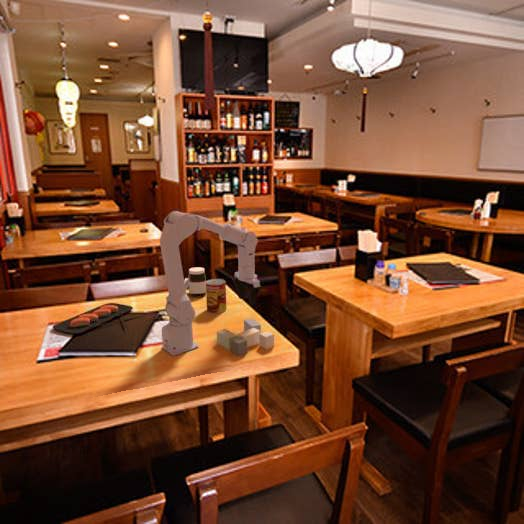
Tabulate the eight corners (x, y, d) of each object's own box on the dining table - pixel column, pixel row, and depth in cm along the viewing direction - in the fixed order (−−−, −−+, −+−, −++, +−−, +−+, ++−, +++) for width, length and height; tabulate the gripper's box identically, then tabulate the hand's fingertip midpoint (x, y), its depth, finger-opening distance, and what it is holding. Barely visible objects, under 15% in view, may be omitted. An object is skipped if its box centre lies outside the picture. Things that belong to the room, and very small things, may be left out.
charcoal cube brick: (238, 356, 129) (238, 343, 128) (232, 352, 131) (231, 339, 130) (247, 353, 131) (247, 340, 130) (241, 349, 133) (240, 336, 132)
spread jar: (207, 296, 183) (207, 271, 180) (182, 299, 180) (180, 273, 177) (204, 288, 195) (203, 264, 192) (179, 290, 192) (178, 266, 189)
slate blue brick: (260, 336, 143) (260, 324, 142) (251, 338, 141) (251, 326, 140) (252, 329, 149) (252, 317, 148) (244, 330, 148) (243, 319, 146)
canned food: (203, 310, 167) (201, 282, 164) (216, 305, 173) (215, 277, 170) (217, 314, 162) (216, 285, 159) (230, 309, 168) (229, 280, 165)
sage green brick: (237, 347, 135) (237, 335, 134) (229, 350, 133) (228, 338, 132) (225, 340, 140) (225, 328, 139) (217, 343, 138) (216, 331, 137)
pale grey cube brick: (266, 349, 133) (266, 337, 132) (259, 346, 136) (259, 333, 134) (274, 346, 135) (274, 334, 134) (267, 343, 138) (267, 330, 136)
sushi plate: (110, 306, 175) (109, 297, 174) (166, 317, 162) (166, 308, 161) (49, 331, 150) (48, 322, 149) (110, 347, 137) (109, 337, 136)
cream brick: (243, 349, 134) (243, 336, 132) (237, 345, 136) (237, 333, 135) (260, 343, 138) (260, 330, 137) (254, 339, 140) (254, 327, 139)
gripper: (267, 267, 141) (267, 305, 144) (246, 258, 153) (246, 293, 156) (249, 270, 137) (249, 308, 141) (229, 261, 149) (230, 297, 153)
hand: (247, 301), depth 148 cm, fingers open, 7 cm apart
